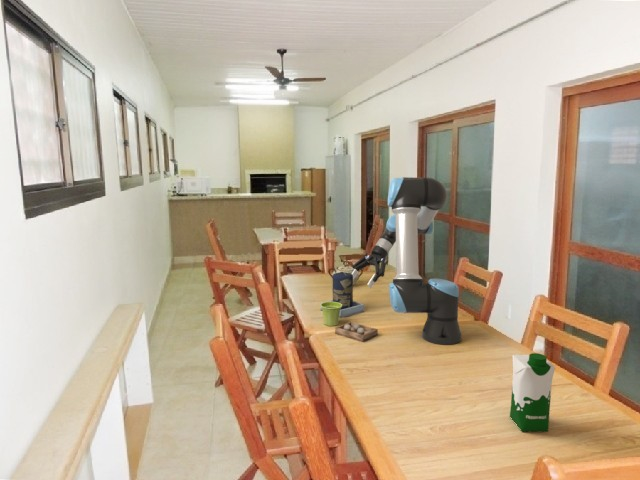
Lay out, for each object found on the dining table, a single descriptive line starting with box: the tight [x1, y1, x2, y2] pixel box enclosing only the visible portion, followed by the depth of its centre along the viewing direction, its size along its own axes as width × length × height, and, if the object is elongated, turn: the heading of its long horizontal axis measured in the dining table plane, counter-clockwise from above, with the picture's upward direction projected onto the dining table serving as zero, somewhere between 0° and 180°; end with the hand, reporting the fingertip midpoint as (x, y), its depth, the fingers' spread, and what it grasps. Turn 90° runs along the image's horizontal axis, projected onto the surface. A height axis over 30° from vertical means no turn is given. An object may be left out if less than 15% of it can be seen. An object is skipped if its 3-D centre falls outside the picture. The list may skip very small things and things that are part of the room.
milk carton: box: [509, 352, 556, 432], centre depth 120 cm, size 9×9×20 cm
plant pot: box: [321, 301, 342, 327], centre depth 199 cm, size 9×9×9 cm
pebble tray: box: [334, 321, 379, 343], centre depth 187 cm, size 14×10×4 cm
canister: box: [332, 272, 354, 310], centre depth 216 cm, size 10×10×18 cm
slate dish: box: [320, 299, 365, 319], centre depth 217 cm, size 15×15×4 cm
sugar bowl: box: [328, 259, 363, 286], centre depth 261 cm, size 20×15×15 cm
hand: (359, 283), depth 222 cm, fingers open, 13 cm apart
